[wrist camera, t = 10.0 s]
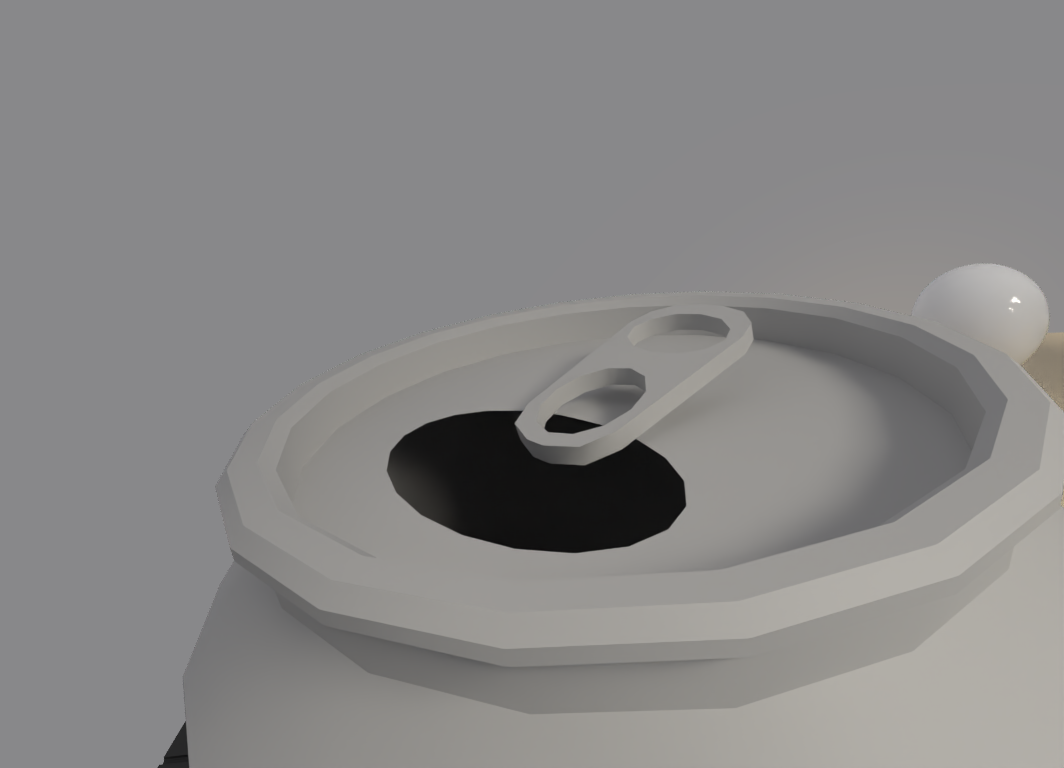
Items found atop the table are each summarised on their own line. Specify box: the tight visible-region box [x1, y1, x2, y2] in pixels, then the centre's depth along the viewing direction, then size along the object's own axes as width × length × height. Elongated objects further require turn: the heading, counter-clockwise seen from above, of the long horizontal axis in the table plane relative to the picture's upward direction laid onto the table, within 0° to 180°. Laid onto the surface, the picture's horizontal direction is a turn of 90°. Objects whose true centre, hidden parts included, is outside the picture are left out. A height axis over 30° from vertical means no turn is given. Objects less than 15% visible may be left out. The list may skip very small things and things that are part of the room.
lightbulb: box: [911, 263, 1050, 365], centre depth 35 cm, size 6×6×11 cm
